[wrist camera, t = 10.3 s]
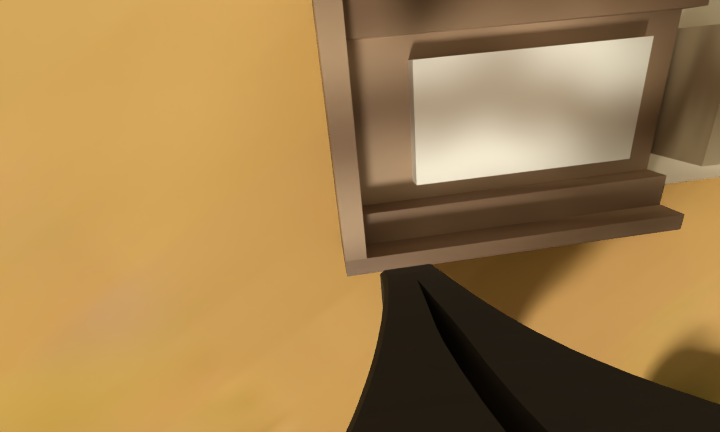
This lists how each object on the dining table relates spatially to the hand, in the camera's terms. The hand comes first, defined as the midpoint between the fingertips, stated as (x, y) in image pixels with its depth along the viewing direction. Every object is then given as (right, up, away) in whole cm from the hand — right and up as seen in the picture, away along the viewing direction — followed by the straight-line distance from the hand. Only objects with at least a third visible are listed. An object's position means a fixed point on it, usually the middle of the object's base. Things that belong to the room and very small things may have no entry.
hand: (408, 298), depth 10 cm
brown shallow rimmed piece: (+5, +7, +8) cm, 12 cm away
